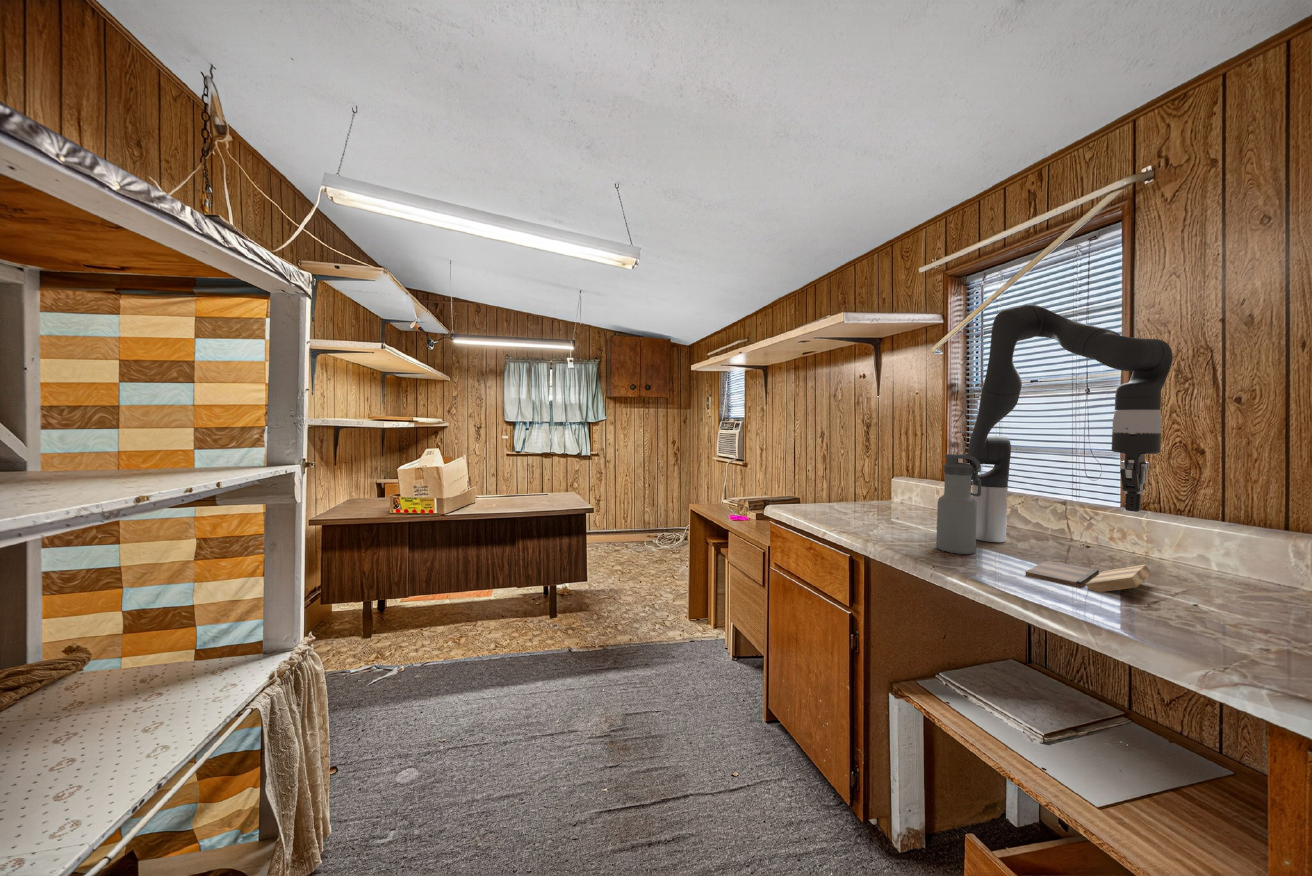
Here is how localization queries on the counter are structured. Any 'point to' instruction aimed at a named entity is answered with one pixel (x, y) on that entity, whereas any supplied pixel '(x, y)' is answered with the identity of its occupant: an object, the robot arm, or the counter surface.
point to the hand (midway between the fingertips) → (1132, 510)
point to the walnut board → (1063, 573)
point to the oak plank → (1119, 578)
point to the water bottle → (958, 506)
